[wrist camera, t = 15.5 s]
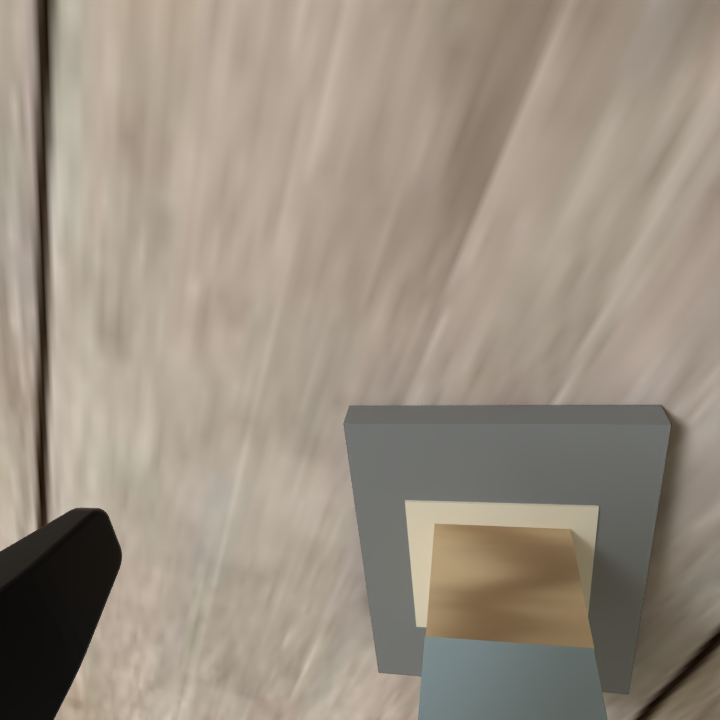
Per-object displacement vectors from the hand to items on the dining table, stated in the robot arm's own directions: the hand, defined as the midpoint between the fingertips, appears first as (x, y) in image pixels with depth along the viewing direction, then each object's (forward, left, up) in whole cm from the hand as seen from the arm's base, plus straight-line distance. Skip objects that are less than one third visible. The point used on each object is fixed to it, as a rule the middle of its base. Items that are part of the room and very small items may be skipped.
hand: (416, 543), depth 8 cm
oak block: (-2, +13, -12) cm, 18 cm away
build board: (-2, +13, -13) cm, 18 cm away
